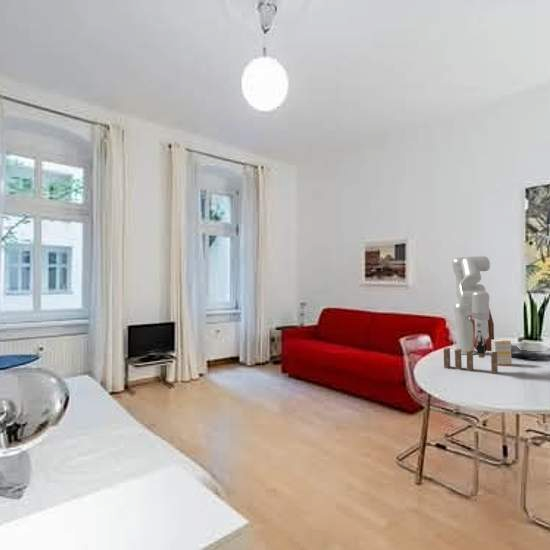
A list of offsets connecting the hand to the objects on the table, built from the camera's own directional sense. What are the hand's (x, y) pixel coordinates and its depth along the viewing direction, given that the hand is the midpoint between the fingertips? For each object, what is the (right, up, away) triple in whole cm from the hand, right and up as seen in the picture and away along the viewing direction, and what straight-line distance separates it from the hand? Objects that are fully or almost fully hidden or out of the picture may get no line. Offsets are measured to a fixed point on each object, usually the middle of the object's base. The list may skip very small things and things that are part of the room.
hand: (481, 351), depth 195 cm
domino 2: (-8, -10, +7) cm, 15 cm away
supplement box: (+18, -10, +14) cm, 24 cm away
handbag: (+32, -9, +59) cm, 67 cm away
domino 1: (-13, -10, +10) cm, 19 cm away
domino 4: (0, -2, 0) cm, 2 cm away
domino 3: (-4, -10, +4) cm, 11 cm away
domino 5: (+5, -10, -3) cm, 11 cm away
